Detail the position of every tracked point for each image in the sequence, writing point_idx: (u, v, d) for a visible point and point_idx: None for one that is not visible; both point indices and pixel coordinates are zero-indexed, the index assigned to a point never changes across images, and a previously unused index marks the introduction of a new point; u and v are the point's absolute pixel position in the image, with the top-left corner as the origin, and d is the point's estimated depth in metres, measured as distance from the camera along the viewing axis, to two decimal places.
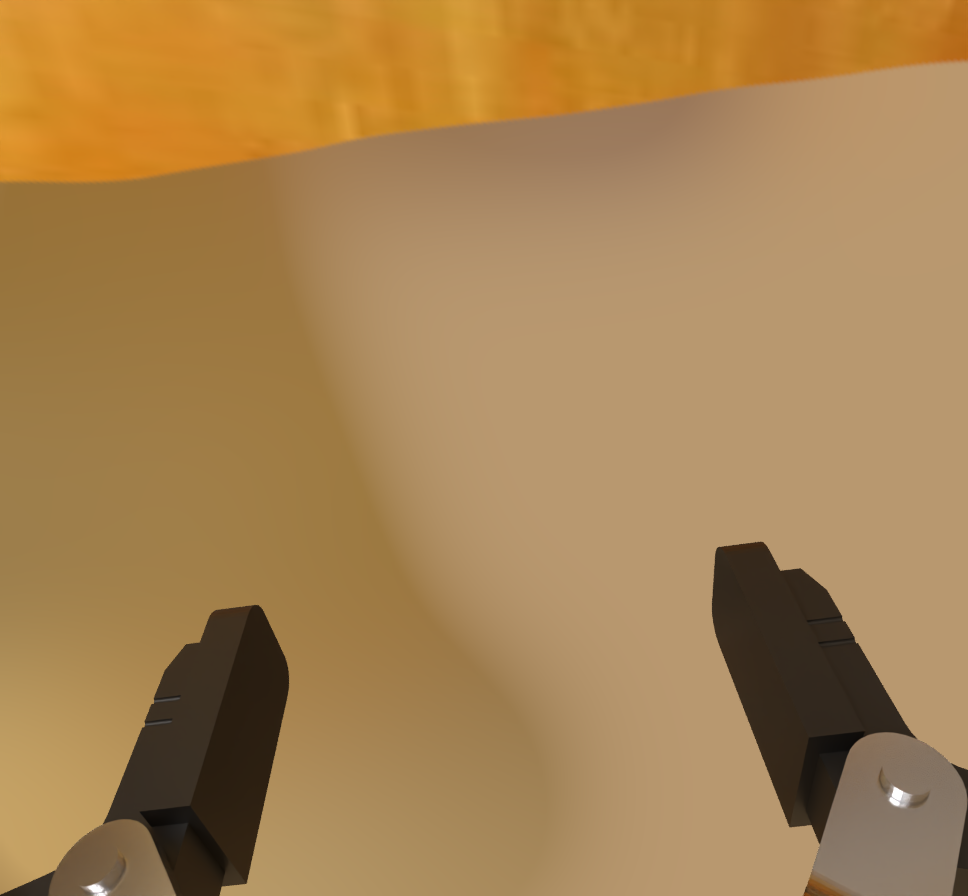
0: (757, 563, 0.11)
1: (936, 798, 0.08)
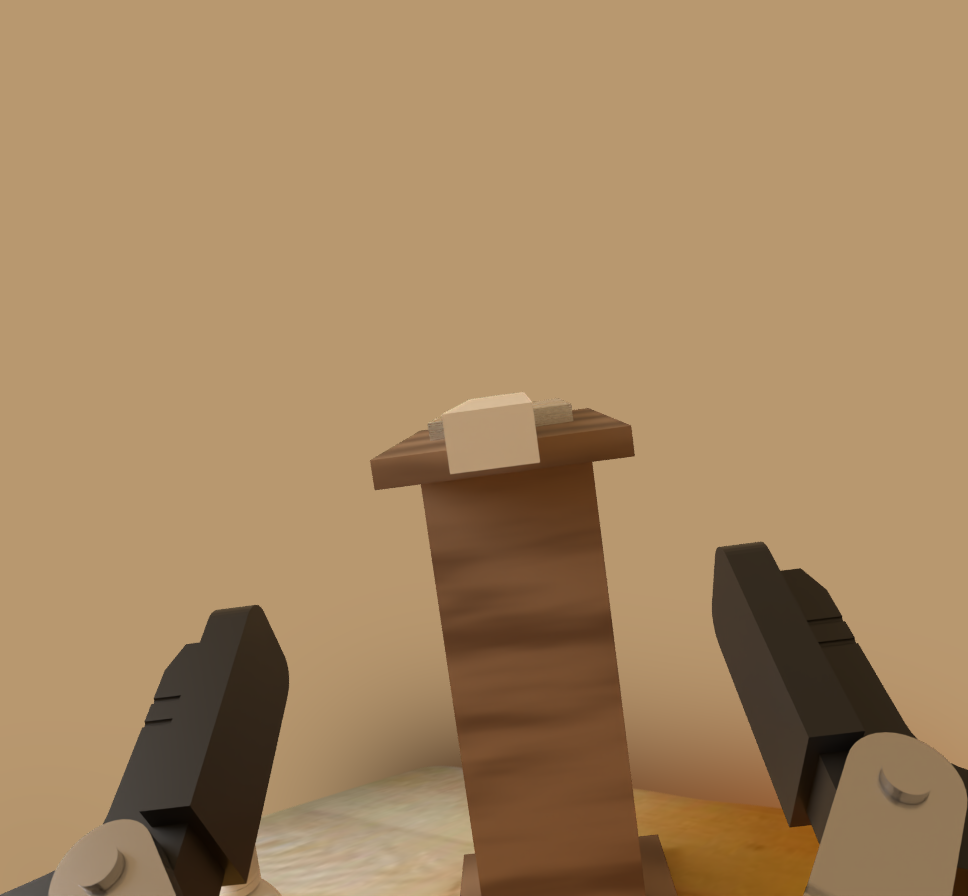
0: (757, 563, 0.11)
1: (936, 799, 0.08)
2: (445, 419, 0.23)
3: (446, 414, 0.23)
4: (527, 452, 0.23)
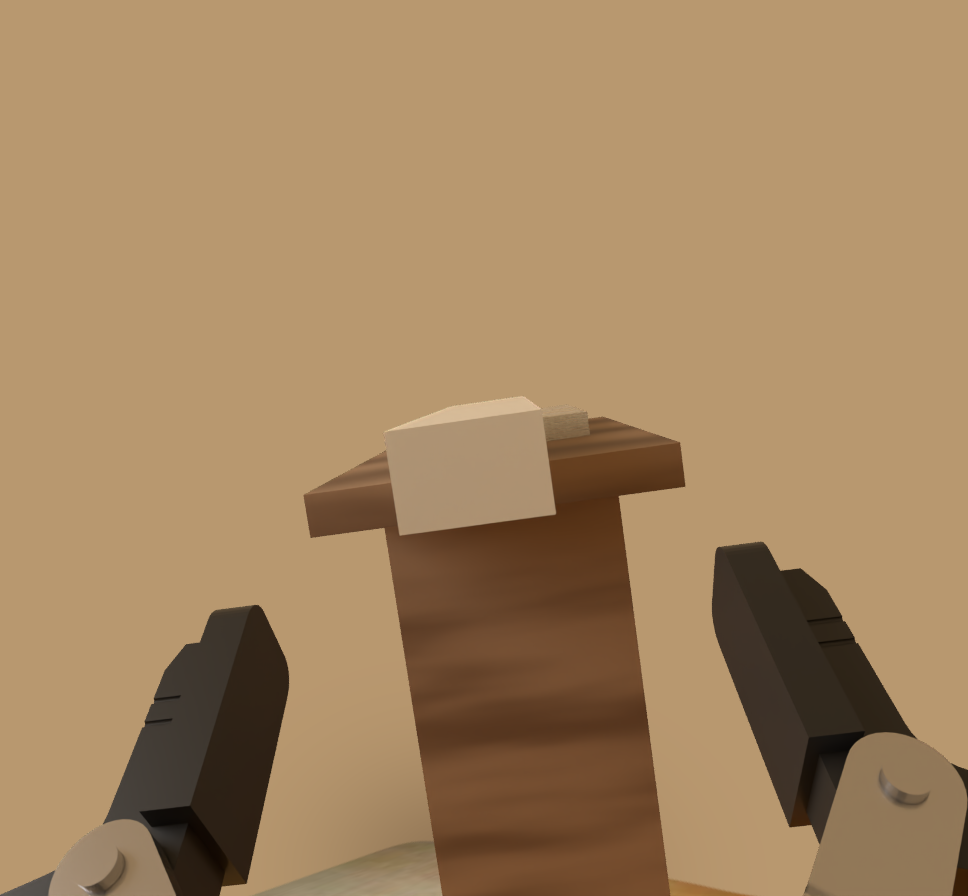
0: (757, 563, 0.11)
1: (936, 798, 0.08)
2: (390, 440, 0.13)
3: (392, 431, 0.13)
4: (533, 497, 0.13)
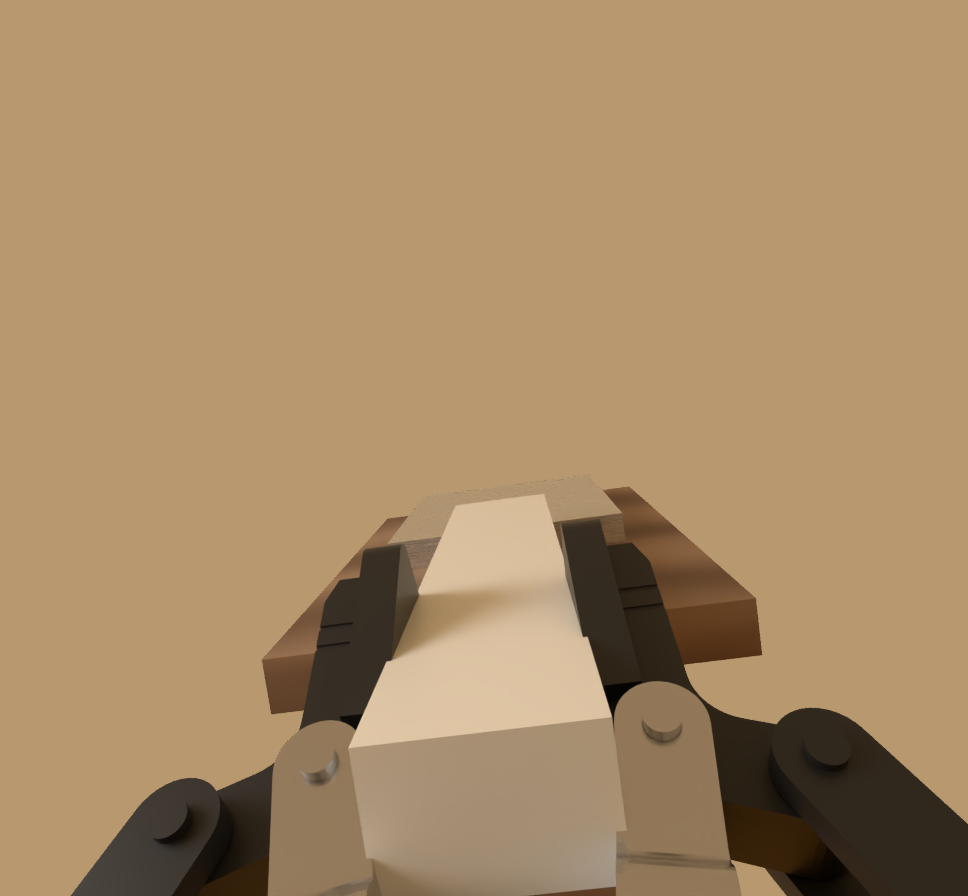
0: (587, 537, 0.12)
1: (683, 736, 0.09)
2: (360, 760, 0.08)
3: (363, 743, 0.08)
4: (597, 855, 0.08)
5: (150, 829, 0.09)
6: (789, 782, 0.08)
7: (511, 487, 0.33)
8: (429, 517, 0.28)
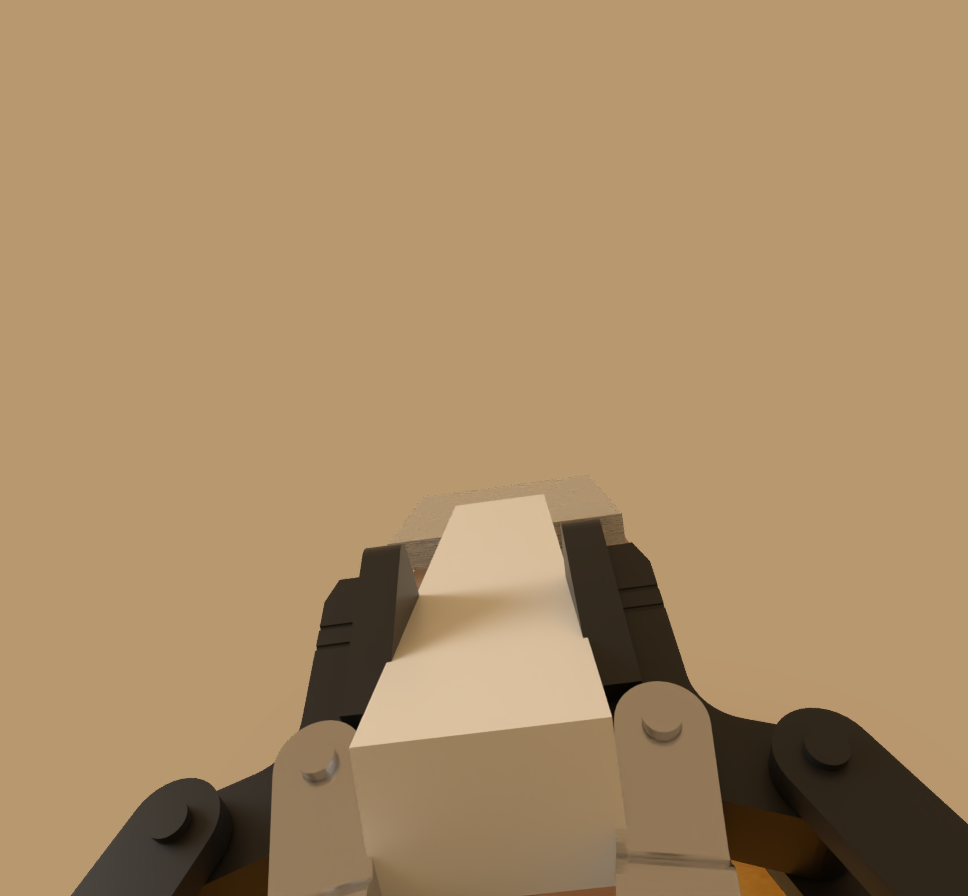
0: (588, 537, 0.12)
1: (683, 736, 0.09)
2: (360, 760, 0.08)
3: (364, 743, 0.08)
4: (597, 855, 0.08)
5: (150, 829, 0.09)
6: (789, 782, 0.08)
7: (511, 487, 0.33)
8: (429, 517, 0.28)
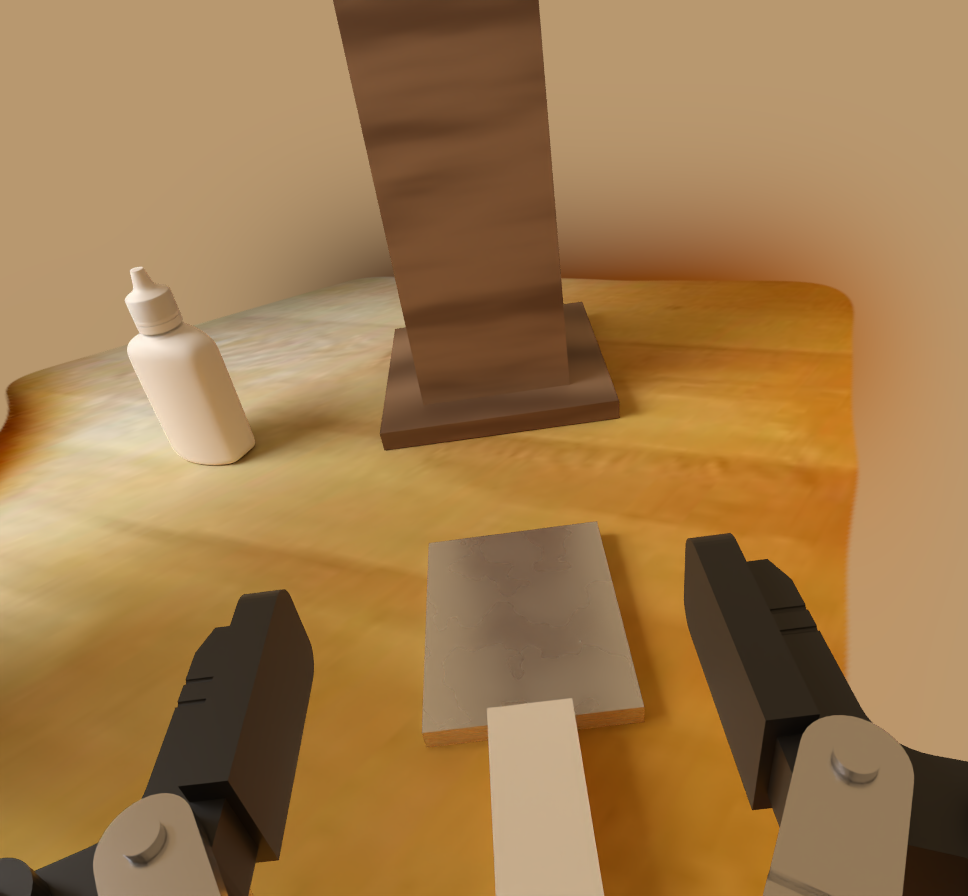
0: (724, 553, 0.11)
1: (884, 777, 0.08)
2: None
3: None
4: None
5: None
6: None
7: (519, 543, 0.33)
8: (449, 639, 0.29)
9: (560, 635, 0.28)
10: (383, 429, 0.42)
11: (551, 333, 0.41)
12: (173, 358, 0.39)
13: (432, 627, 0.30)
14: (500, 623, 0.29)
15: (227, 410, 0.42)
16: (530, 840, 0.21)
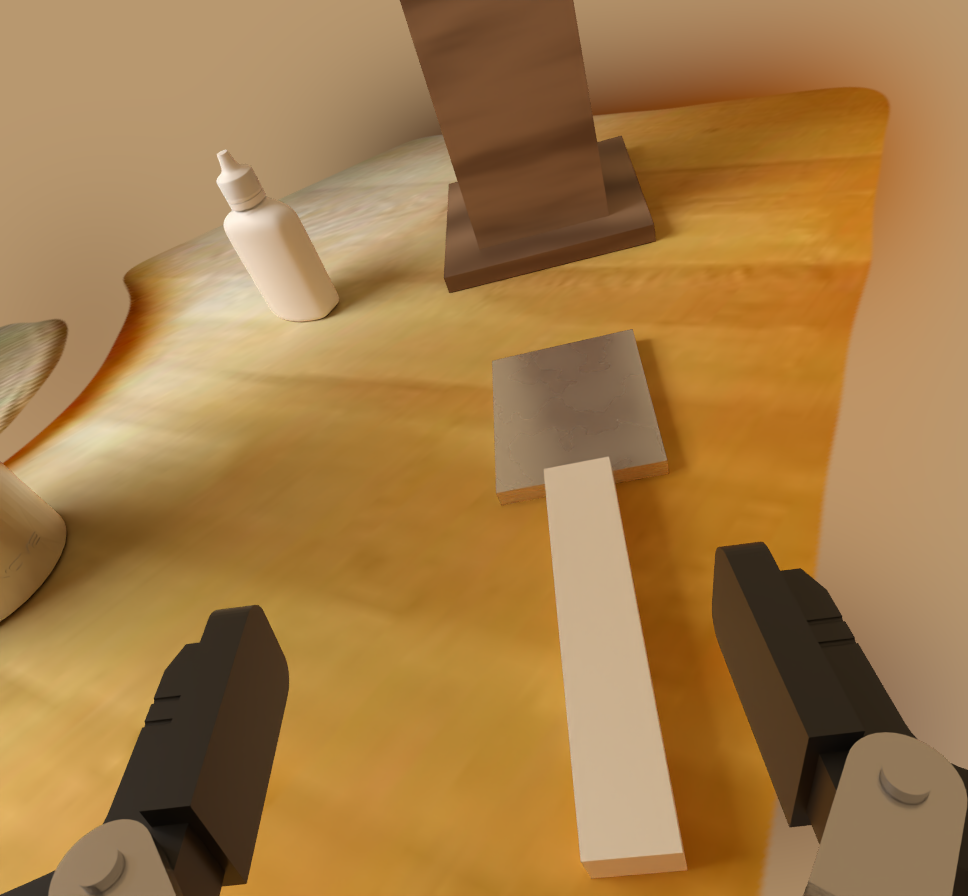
0: (757, 563, 0.11)
1: (936, 798, 0.08)
2: (585, 862, 0.21)
3: (585, 857, 0.21)
4: (674, 867, 0.22)
5: None
6: None
7: (567, 353, 0.39)
8: (513, 429, 0.36)
9: (601, 417, 0.35)
10: (446, 274, 0.48)
11: (587, 168, 0.45)
12: (263, 229, 0.46)
13: (499, 421, 0.37)
14: (553, 414, 0.36)
15: (313, 271, 0.49)
16: (578, 547, 0.29)
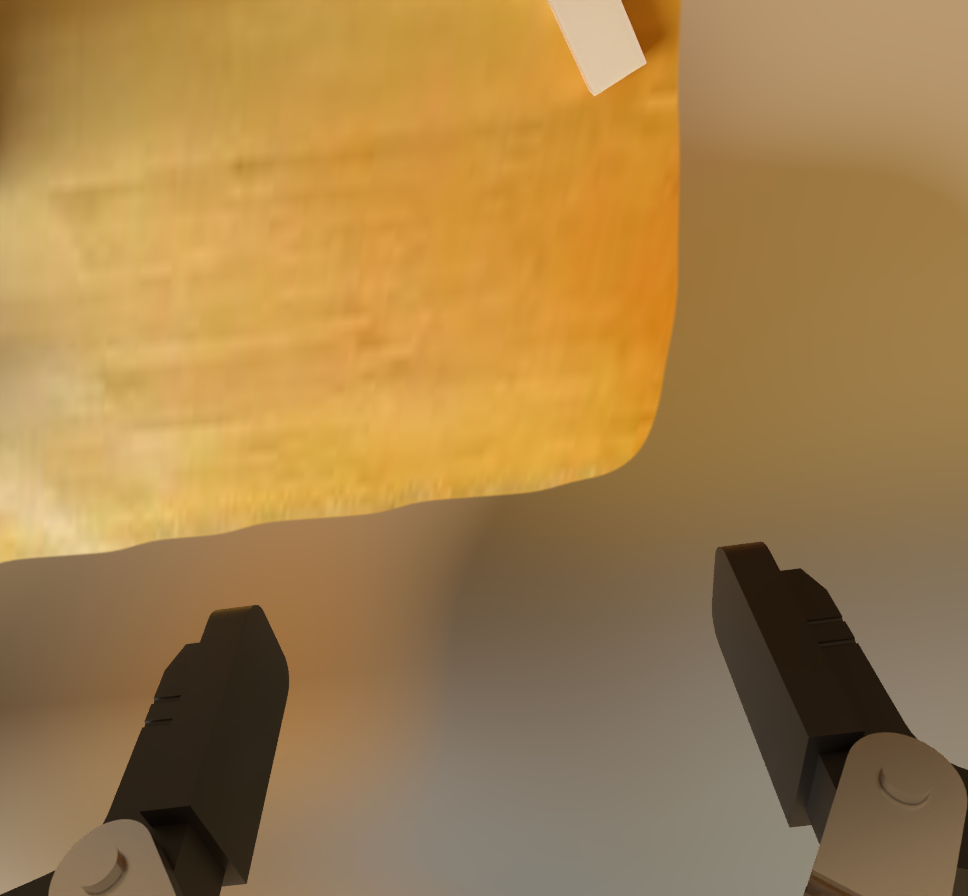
0: (757, 563, 0.11)
1: (936, 798, 0.08)
2: (595, 94, 0.37)
3: (596, 92, 0.37)
4: None
5: None
6: None
7: None
8: None
9: None
10: None
11: None
12: None
13: None
14: None
15: None
16: None
